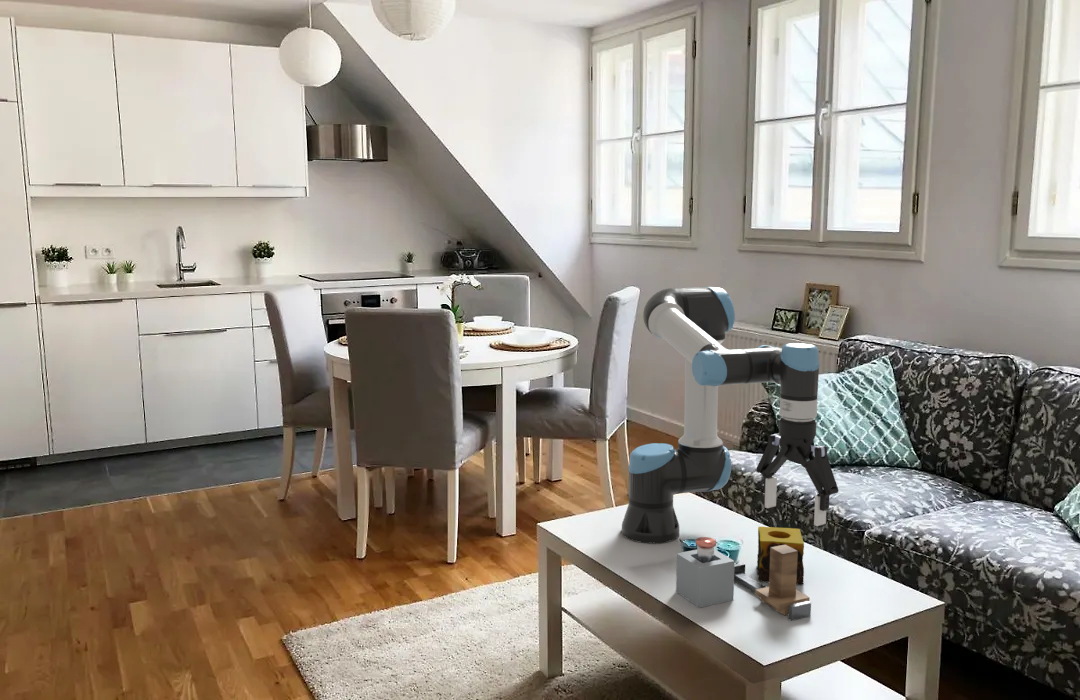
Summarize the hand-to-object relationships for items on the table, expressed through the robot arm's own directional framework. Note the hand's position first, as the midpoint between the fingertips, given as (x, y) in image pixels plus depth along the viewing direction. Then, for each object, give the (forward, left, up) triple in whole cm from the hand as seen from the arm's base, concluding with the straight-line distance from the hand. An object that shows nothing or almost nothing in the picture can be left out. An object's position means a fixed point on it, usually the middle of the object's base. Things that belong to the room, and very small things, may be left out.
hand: (794, 515), depth 189 cm
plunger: (-12, -14, -11) cm, 22 cm away
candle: (-14, +8, -21) cm, 26 cm away
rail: (-6, -2, -20) cm, 21 cm away
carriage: (0, -2, -20) cm, 20 cm away
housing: (-12, -14, -20) cm, 27 cm away
